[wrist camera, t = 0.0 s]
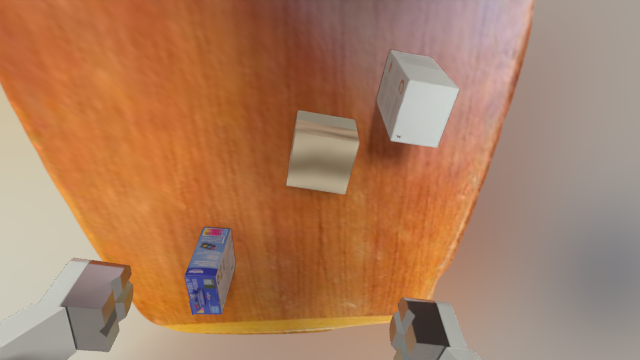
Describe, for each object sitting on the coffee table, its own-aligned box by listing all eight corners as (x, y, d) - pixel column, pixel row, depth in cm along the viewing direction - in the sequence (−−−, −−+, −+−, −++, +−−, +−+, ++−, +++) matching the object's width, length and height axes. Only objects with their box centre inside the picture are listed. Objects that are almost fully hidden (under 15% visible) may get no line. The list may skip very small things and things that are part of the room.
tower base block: (297, 109, 60) (296, 120, 57) (354, 118, 61) (356, 130, 58) (289, 158, 65) (288, 171, 62) (342, 167, 66) (343, 180, 63)
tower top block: (296, 119, 57) (295, 131, 54) (357, 130, 58) (359, 142, 55) (287, 171, 62) (286, 185, 59) (343, 180, 63) (345, 194, 60)
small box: (415, 108, 60) (437, 149, 49) (375, 101, 60) (388, 142, 49) (432, 55, 56) (461, 88, 45) (389, 48, 55) (408, 79, 44)
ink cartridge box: (201, 226, 73) (178, 287, 61) (231, 226, 73) (214, 287, 61) (208, 264, 78) (188, 327, 66) (236, 264, 78) (221, 327, 66)
